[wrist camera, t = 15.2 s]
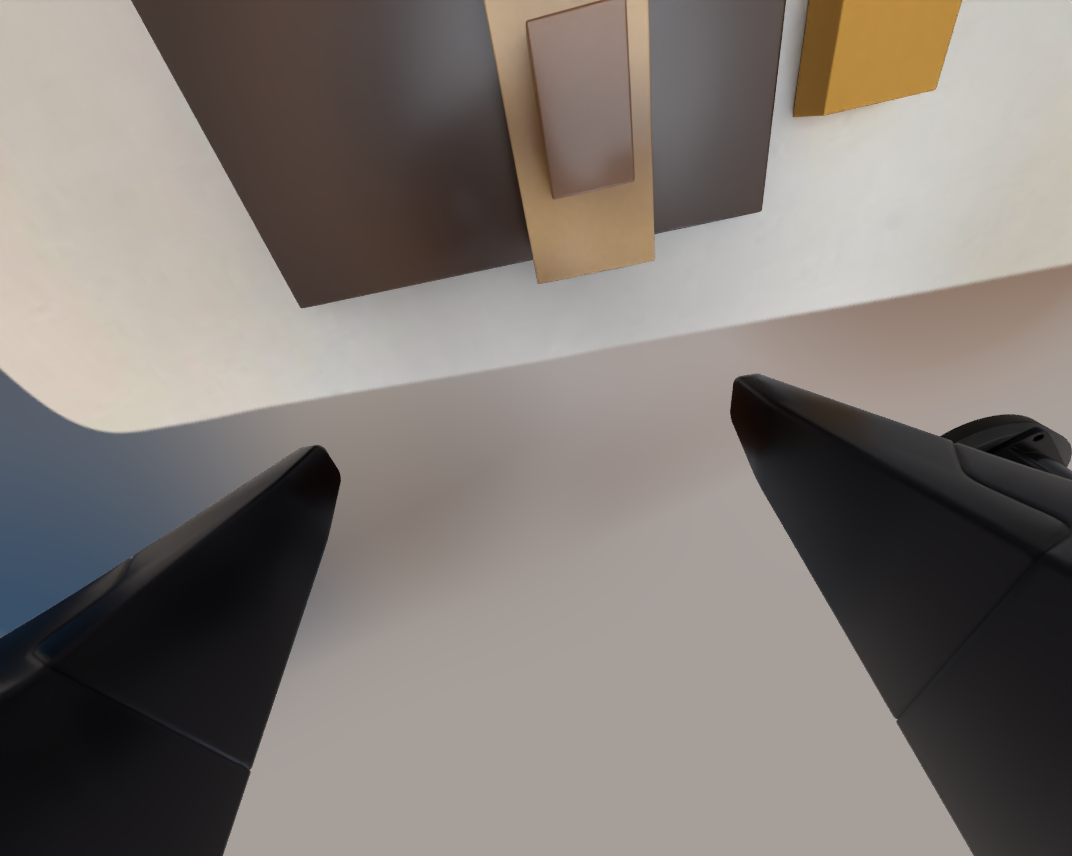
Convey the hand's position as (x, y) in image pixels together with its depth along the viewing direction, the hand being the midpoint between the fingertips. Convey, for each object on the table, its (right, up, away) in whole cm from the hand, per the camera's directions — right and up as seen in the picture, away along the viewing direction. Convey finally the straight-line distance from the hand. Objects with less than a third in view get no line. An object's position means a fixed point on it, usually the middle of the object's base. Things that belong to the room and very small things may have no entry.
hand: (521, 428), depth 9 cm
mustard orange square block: (+11, +13, +5) cm, 18 cm away
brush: (+2, +11, +5) cm, 13 cm away
